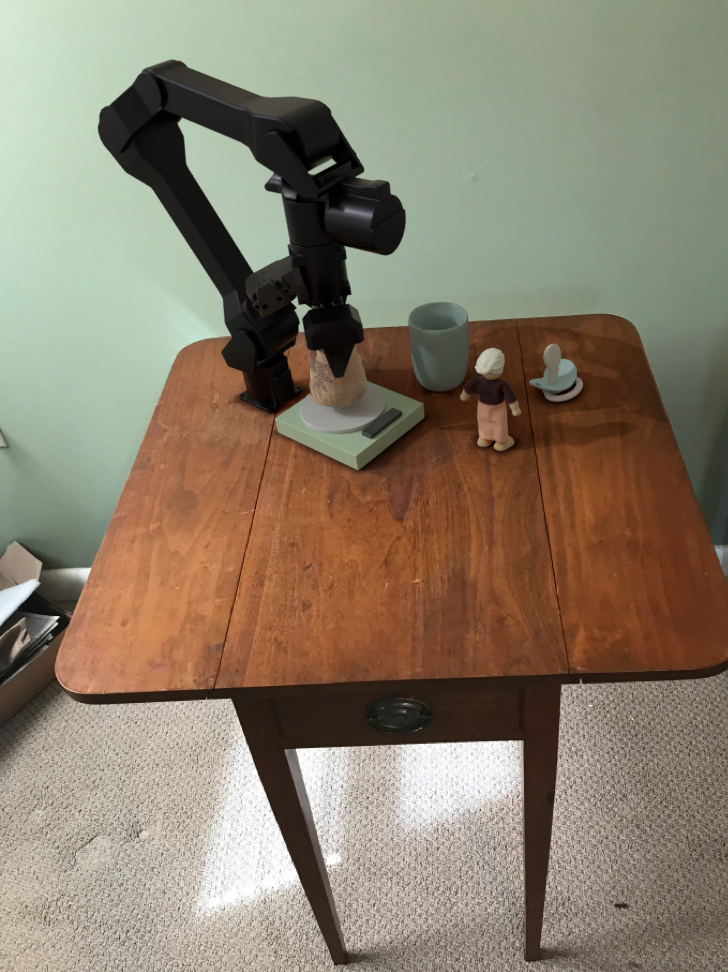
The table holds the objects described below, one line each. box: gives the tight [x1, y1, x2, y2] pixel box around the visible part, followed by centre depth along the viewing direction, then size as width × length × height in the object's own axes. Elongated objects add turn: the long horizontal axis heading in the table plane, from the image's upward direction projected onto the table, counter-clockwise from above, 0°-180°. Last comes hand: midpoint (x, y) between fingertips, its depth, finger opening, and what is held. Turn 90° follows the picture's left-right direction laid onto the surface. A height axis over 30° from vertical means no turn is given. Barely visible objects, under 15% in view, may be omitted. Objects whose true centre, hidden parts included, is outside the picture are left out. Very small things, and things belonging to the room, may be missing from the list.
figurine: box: [305, 302, 368, 407], centre depth 93 cm, size 7×7×12 cm
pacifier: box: [528, 343, 584, 403], centre depth 99 cm, size 7×6×6 cm
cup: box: [407, 301, 470, 393], centre depth 101 cm, size 8×8×10 cm
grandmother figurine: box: [459, 347, 522, 452], centre depth 90 cm, size 8×4×13 cm, turn 71°
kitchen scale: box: [274, 380, 425, 471], centre depth 98 cm, size 14×13×3 cm
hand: (335, 362), depth 94 cm, fingers closed on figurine, 6 cm apart
